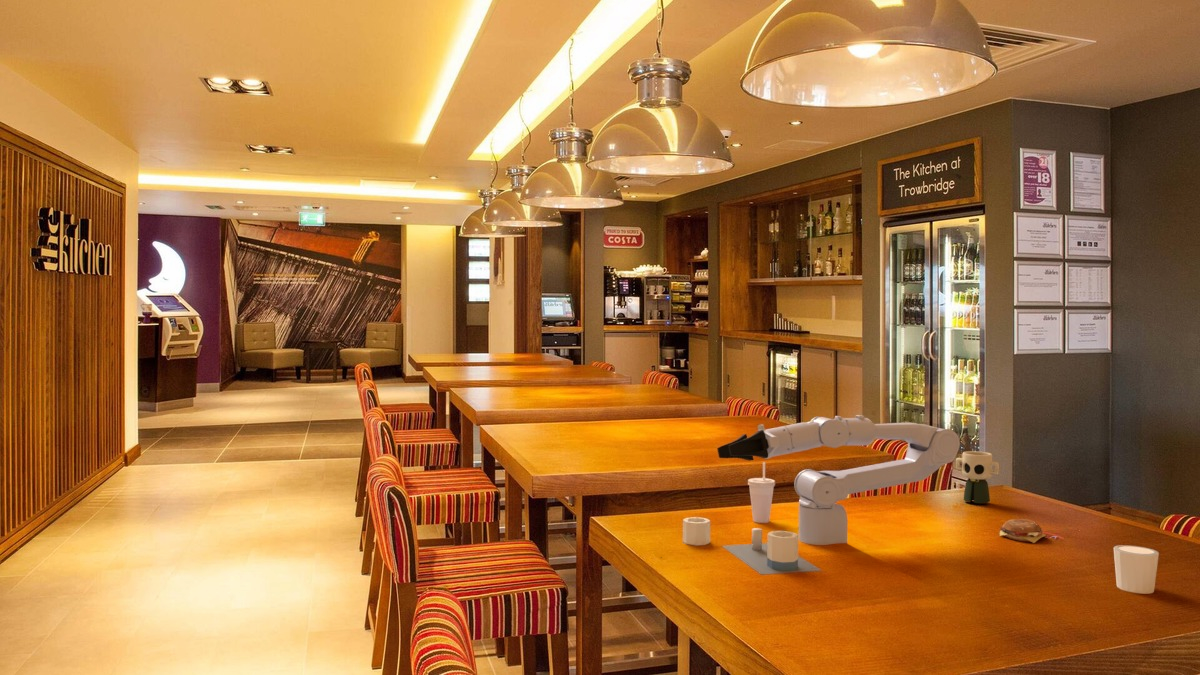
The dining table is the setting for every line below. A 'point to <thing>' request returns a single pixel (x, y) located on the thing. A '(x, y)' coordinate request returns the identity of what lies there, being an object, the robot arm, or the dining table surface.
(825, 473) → the robot arm
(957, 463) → the character mug
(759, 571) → the pin board
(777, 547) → the seated sleeve
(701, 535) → the sleeve
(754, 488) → the smoothie
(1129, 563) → the white cup
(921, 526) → the dining table surface
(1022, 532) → the hamburger
